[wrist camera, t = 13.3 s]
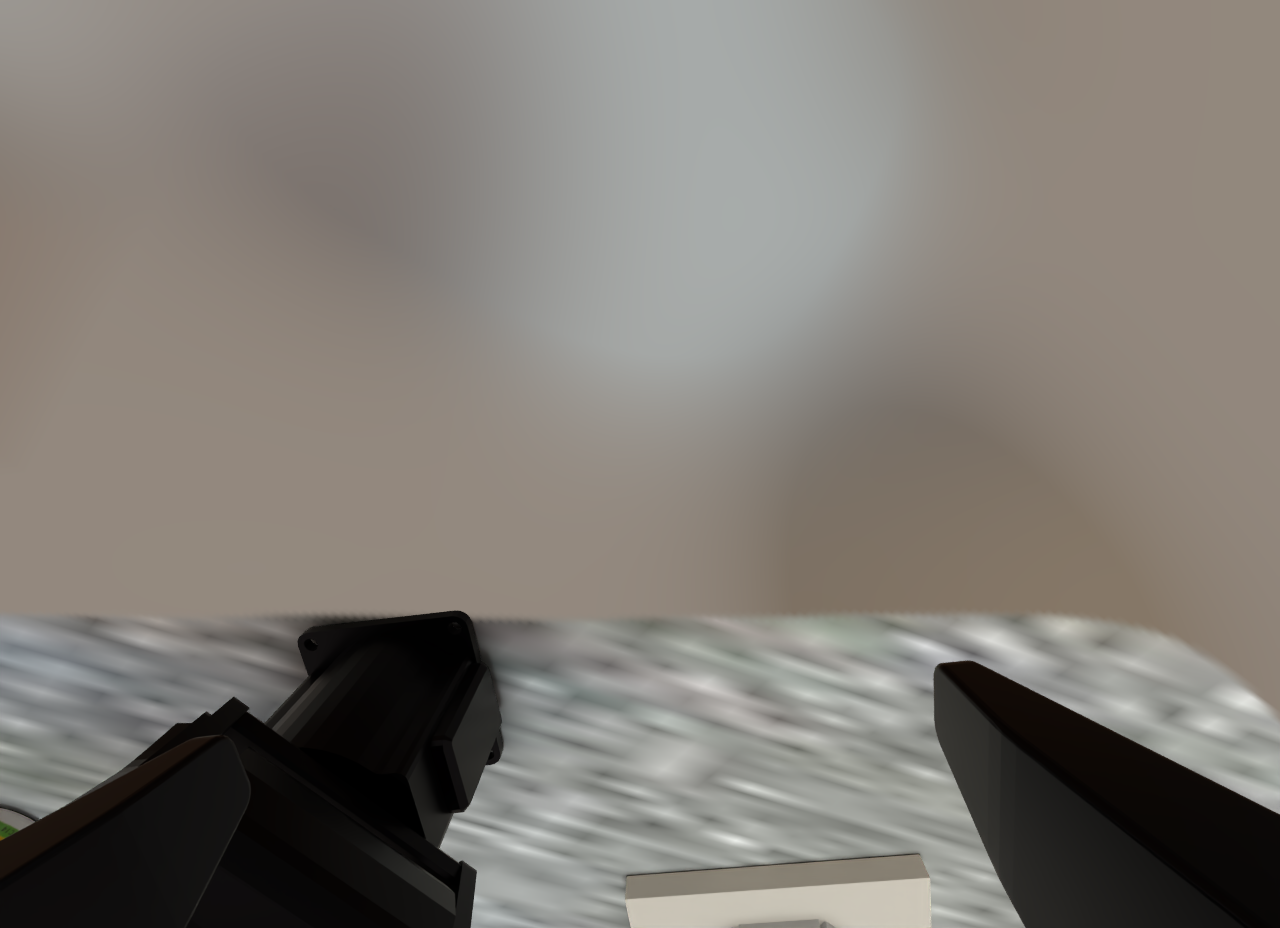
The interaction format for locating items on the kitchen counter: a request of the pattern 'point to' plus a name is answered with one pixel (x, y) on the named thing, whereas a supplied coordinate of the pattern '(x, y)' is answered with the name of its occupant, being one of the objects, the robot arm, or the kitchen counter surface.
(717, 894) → the collar mount
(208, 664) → the kitchen counter surface
